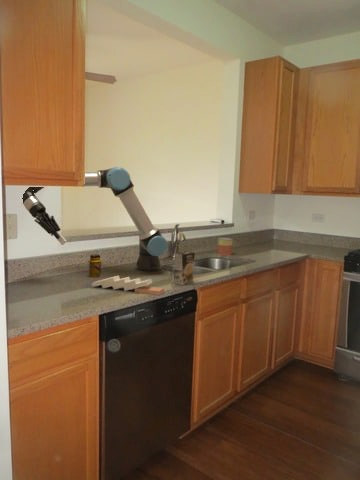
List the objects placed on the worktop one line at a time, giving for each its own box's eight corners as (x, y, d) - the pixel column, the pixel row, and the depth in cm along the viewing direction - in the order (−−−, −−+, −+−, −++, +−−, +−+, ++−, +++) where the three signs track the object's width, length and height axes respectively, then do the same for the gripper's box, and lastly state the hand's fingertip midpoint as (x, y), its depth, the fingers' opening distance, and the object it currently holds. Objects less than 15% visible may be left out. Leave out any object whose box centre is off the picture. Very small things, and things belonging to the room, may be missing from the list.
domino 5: (134, 288, 182) (159, 291, 179) (139, 285, 188) (163, 288, 184) (134, 292, 182) (159, 295, 179) (139, 289, 188) (163, 292, 185)
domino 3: (112, 286, 185) (134, 280, 182) (118, 283, 191) (140, 277, 187) (113, 289, 186) (135, 284, 182) (119, 286, 191) (141, 281, 187)
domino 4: (123, 287, 184) (146, 281, 180) (128, 284, 190) (151, 278, 186) (124, 290, 184) (147, 285, 180) (130, 287, 190) (152, 282, 186)
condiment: (101, 278, 209) (101, 256, 208) (85, 278, 208) (85, 256, 206) (101, 275, 217) (101, 253, 215) (85, 275, 215) (85, 253, 213)
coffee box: (182, 285, 200) (183, 254, 198) (173, 283, 204) (174, 252, 202) (193, 282, 207) (194, 252, 205) (184, 280, 211) (185, 250, 209)
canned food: (233, 254, 303) (234, 238, 302) (230, 256, 293) (231, 240, 291) (218, 252, 307) (219, 237, 305) (215, 255, 296) (216, 239, 295)
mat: (91, 283, 199) (91, 281, 199) (147, 289, 190) (147, 288, 190) (80, 288, 189) (80, 286, 188) (138, 295, 180) (138, 294, 180)
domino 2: (101, 284, 187) (123, 279, 183) (107, 282, 193) (129, 276, 189) (102, 288, 187) (124, 282, 183) (108, 285, 193) (130, 280, 189)
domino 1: (91, 283, 189) (113, 277, 185) (97, 280, 194) (118, 275, 191) (92, 287, 189) (114, 281, 185) (98, 284, 194) (119, 278, 191)
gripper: (30, 202, 190) (61, 239, 187) (47, 201, 202) (76, 236, 199) (21, 213, 192) (51, 249, 189) (38, 211, 204) (67, 246, 201)
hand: (64, 243), depth 194 cm, fingers closed
